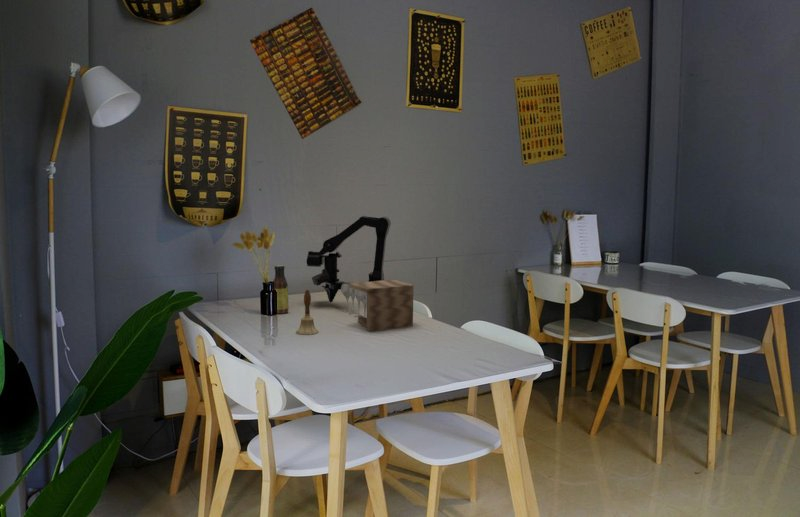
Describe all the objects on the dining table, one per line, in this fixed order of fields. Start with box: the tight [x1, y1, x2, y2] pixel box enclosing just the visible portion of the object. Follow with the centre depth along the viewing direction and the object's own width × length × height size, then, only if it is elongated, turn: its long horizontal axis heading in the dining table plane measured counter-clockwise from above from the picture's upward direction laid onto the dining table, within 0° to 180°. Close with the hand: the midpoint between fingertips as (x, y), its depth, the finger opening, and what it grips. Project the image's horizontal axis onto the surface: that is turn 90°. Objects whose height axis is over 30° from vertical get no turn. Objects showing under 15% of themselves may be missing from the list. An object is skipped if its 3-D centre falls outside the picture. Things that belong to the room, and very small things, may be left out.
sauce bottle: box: [272, 264, 289, 315], centre depth 280 cm, size 6×6×20 cm
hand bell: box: [295, 289, 319, 336], centre depth 248 cm, size 8×8×16 cm
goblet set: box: [340, 281, 367, 318], centre depth 276 cm, size 28×6×13 cm, turn 29°
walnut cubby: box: [349, 279, 415, 333], centre depth 261 cm, size 20×15×16 cm
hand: (330, 302), depth 297 cm, fingers closed
